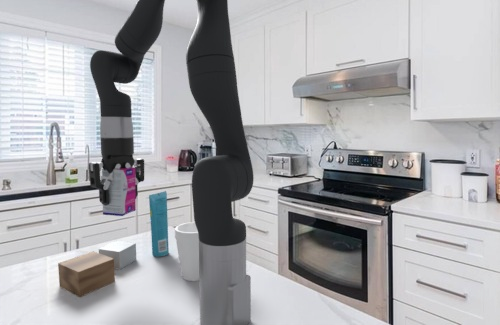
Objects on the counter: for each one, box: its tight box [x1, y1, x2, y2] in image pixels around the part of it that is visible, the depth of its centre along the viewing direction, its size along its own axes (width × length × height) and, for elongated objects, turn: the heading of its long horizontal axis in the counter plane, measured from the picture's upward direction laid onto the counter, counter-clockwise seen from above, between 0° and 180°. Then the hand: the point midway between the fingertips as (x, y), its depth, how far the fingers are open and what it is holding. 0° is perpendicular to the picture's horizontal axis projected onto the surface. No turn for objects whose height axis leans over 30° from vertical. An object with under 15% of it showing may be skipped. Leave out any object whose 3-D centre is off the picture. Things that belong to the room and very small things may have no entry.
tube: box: [148, 190, 170, 258], centre depth 97 cm, size 7×5×19 cm, turn 160°
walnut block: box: [57, 251, 116, 298], centre depth 79 cm, size 9×9×6 cm
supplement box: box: [101, 167, 137, 217], centre depth 80 cm, size 6×6×12 cm
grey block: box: [98, 240, 137, 270], centre depth 91 cm, size 7×7×5 cm
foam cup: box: [174, 221, 199, 282], centre depth 83 cm, size 10×9×13 cm
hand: (119, 201), depth 80 cm, fingers closed on supplement box, 7 cm apart
